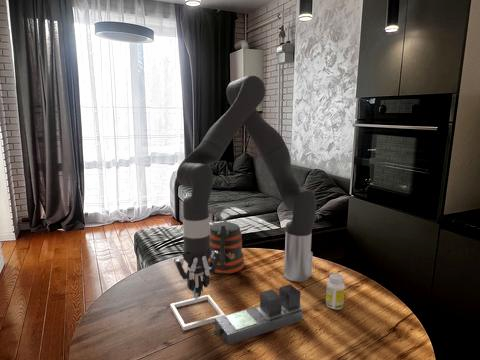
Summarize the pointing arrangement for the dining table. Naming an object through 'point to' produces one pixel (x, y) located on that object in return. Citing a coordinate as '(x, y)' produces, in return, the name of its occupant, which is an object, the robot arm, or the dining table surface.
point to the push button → (198, 281)
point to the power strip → (262, 315)
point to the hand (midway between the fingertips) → (198, 287)
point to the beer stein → (227, 247)
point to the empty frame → (200, 322)
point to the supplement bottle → (335, 292)
